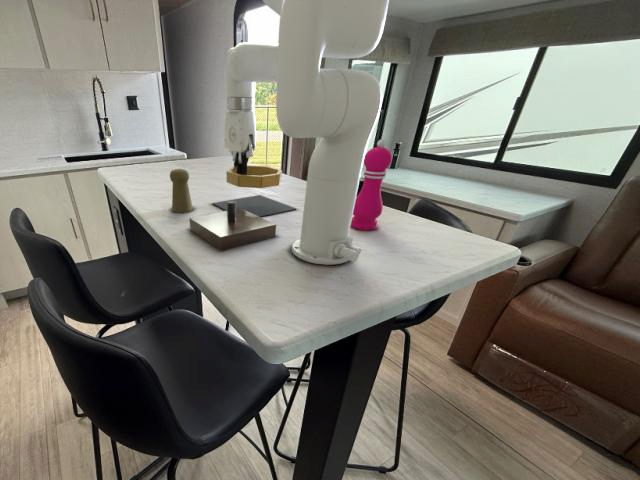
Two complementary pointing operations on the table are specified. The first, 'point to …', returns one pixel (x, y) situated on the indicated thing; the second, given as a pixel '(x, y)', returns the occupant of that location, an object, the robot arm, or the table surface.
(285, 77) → the robot arm
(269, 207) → the mat
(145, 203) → the table surface
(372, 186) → the pepper mill
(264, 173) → the brass hoop
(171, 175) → the olive game pawn
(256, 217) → the peg stand
